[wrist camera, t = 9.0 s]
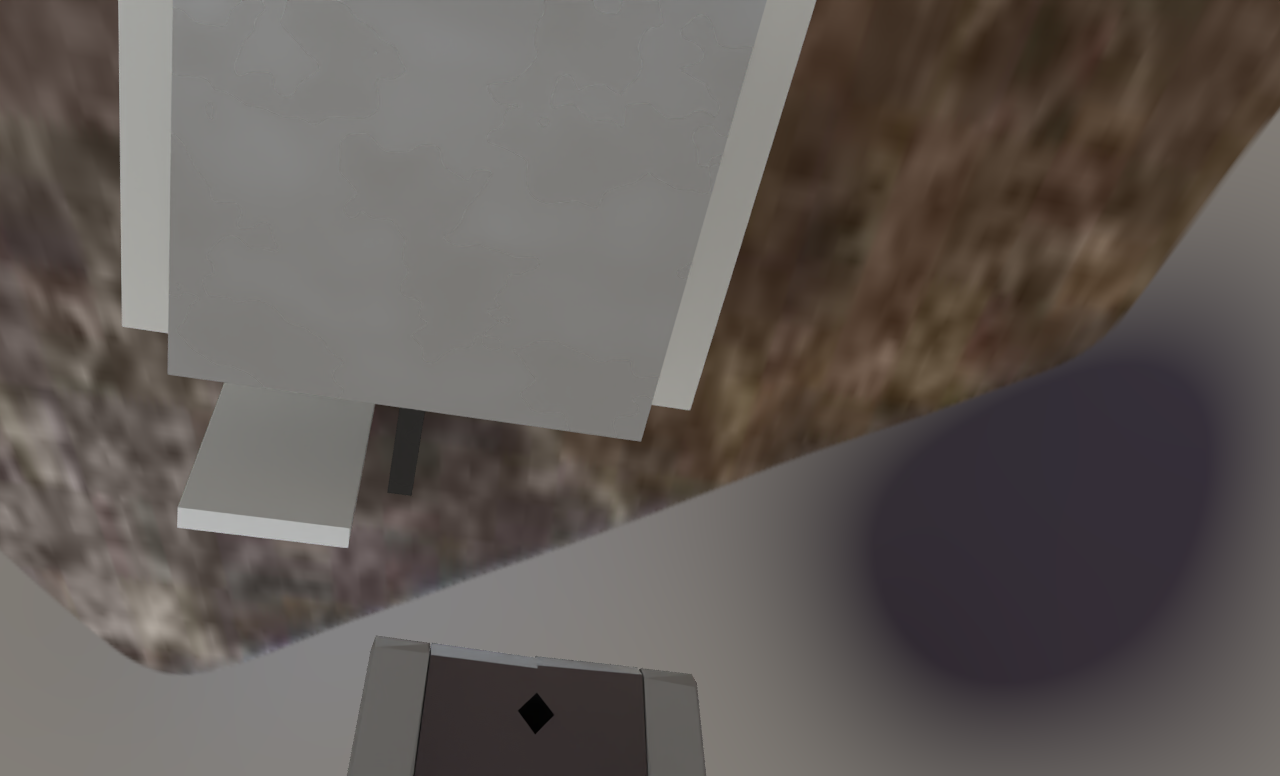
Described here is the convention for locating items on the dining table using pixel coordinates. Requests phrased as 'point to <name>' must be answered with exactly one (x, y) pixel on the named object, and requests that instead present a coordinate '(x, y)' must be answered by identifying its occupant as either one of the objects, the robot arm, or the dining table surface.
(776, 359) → the dining table surface
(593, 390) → the pan
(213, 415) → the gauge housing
